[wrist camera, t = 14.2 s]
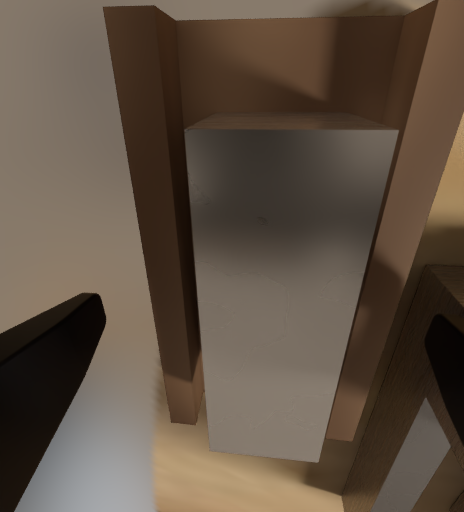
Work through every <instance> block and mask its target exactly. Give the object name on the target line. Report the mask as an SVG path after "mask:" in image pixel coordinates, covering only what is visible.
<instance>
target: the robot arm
mask: <svg viewBox="0 0 464 512" xmlns="http://www.w3.org/2000/svg"><path fill="white" fill-rule="evenodd" d="M105 324H106V315H105V311H104V307H103V304H102V300H101V297H100V296H99V294H97V293H81V294H79V295H77V296H75V297H73V298H71V299H69V300H67V301H65V302H63V303H61V304H59V305H57V306H55V307H53V308H51V309H49V310H47V311H45V312H43V313H41V314H39V315H37V316H35V317H33V318H31V319H29V320H27V321H25V322H23V323H21V324H19V325H17V326H15V327H13V328H11V329H9V330H7V331H5V332H3V333H1V334H0V512H14V511H15V509H16V507H17V505H18V503H19V501H20V499H21V497H22V495H23V493H24V492H25V490H26V488H27V486H28V484H29V482H30V480H31V478H32V476H33V475H34V473H35V471H36V469H37V467H38V465H39V463H40V461H41V459H42V457H43V456H44V453H45V452H46V450H47V448H48V446H49V444H50V442H51V440H52V438H53V437H54V435H55V433H56V431H57V429H58V427H59V425H60V423H61V421H62V419H63V417H64V416H65V413H66V412H67V409H68V408H69V406H70V404H71V402H72V400H73V398H74V396H75V395H76V393H77V391H78V389H79V387H80V385H81V383H82V381H83V379H84V377H85V375H86V372H87V370H88V368H89V365H90V363H91V360H92V358H93V355H94V353H95V350H96V348H97V345H98V343H99V340H100V338H101V335H102V333H103V330H104V328H105ZM424 345H425V349H426V352H427V355H428V358H429V361H430V364H431V367H432V370H433V373H434V376H435V379H436V382H437V385H438V388H439V391H440V394H441V397H442V399H443V402H444V405H445V407H446V409H447V412H448V414H449V416H450V419H451V421H452V423H453V425H454V427H455V430H456V432H457V434H458V436H459V438H460V440H461V443H462V445H463V447H464V318H462V317H460V316H458V315H456V314H447V313H438V314H436V315H435V316H434V317H433V319H432V321H431V324H430V326H429V329H428V331H427V333H426V336H425V340H424Z"/></svg>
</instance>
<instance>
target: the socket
mask: <svg viewBox="0 0 464 512" xmlns="http://www.w3.org/2000/svg"><path fill="white" fill-rule="evenodd" d="M438 313H447V314H456V315H458V316H460V317H462V318H464V267H460V266H440V265H426V267H425V269H424V272H423V275H422V278H421V280H420V283H419V286H418V289H417V291H416V294H415V297H414V300H413V302H412V305H411V308H410V311H409V313H408V316H407V319H406V322H405V324H404V327H403V330H402V333H401V335H400V338H399V341H398V344H397V346H396V349H395V352H394V355H393V357H392V360H391V363H390V366H389V368H388V371H387V374H386V377H385V379H384V382H383V385H382V388H381V390H380V393H379V396H378V399H377V401H376V404H375V407H374V410H373V412H372V415H371V418H370V421H369V423H368V426H367V429H366V431H365V434H364V437H363V440H362V442H361V445H360V448H359V451H358V453H357V456H356V459H355V462H354V464H353V467H352V470H351V473H350V475H349V478H348V481H347V484H346V486H345V489H344V492H343V495H342V502H343V508H344V512H411V510H412V508H413V507H414V505H415V504H416V502H417V500H418V499H419V497H420V496H421V494H422V492H423V491H424V489H425V487H426V486H427V484H428V483H429V481H430V479H431V478H432V476H433V475H434V473H435V471H436V470H437V468H438V467H439V465H440V463H441V462H442V460H443V459H444V457H445V455H446V454H447V452H448V451H449V449H450V447H451V448H452V450H453V452H454V454H455V456H456V457H457V459H458V461H459V463H460V465H461V467H462V469H463V471H464V447H463V445H462V443H461V440H460V438H459V436H458V434H457V432H456V430H455V427H454V425H453V423H452V421H451V419H450V416H449V414H448V412H447V409H446V407H445V405H444V402H443V399H442V397H441V394H440V391H439V388H438V385H437V382H436V379H435V376H434V373H433V370H432V367H431V364H430V361H429V358H428V355H427V352H426V349H425V345H424V340H425V336H426V333H427V331H428V329H429V326H430V324H431V321H432V319H433V317H434V316H435V315H436V314H438ZM449 511H450V512H464V491H463V493H462V494H461V495H460V497H459V498H458V499H457V501H456V502H455V503H454V505H453V506H452V507H451V509H450V510H449Z"/></svg>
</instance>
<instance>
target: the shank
mask: <svg viewBox="0 0 464 512" xmlns="http://www.w3.org/2000/svg"><path fill="white" fill-rule="evenodd" d="M184 131H185V144H186V157H187V169H188V182H189V195H190V207H191V220H192V233H193V245H194V258H195V271H196V283H197V296H198V309H199V321H200V334H201V346H202V359H203V372H204V384H205V397H206V410H207V422H208V435H209V448H210V451H215V452H224V453H233V454H242V455H252V456H261V457H270V458H279V459H289V460H298V461H307V462H317V463H318V462H319V458H320V454H321V450H322V445H323V441H324V437H325V433H326V429H327V425H328V421H329V417H330V412H331V408H332V404H333V400H334V396H335V392H336V388H337V384H338V380H339V375H340V371H341V367H342V363H343V359H344V355H345V351H346V347H347V342H348V338H349V334H350V330H351V326H352V322H353V318H354V314H355V309H356V305H357V301H358V297H359V293H360V289H361V285H362V281H363V277H364V272H365V268H366V264H367V260H368V256H369V252H370V248H371V244H372V239H373V235H374V231H375V227H376V223H377V219H378V215H379V211H380V207H381V202H382V198H383V194H384V190H385V186H386V182H387V178H388V174H389V169H390V165H391V161H392V157H393V153H394V149H395V145H396V141H397V136H398V132H399V130H397V129H394V128H391V127H389V126H386V125H383V124H380V123H377V122H374V121H371V120H368V119H365V118H362V117H359V116H356V115H353V114H350V113H347V112H217V113H215V114H213V115H211V116H209V117H207V118H205V119H203V120H201V121H199V122H197V123H195V124H193V125H191V126H190V127H188V128H186V129H184Z"/></svg>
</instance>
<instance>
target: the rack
mask: <svg viewBox="0 0 464 512" xmlns="http://www.w3.org/2000/svg"><path fill="white" fill-rule="evenodd" d="M103 11H104V17H105V23H106V29H107V35H108V41H109V47H110V53H111V60H112V66H113V71H114V78H115V84H116V90H117V96H118V101H119V108H120V114H121V120H122V126H123V133H124V139H125V145H126V151H127V156H128V163H129V169H130V175H131V181H132V187H133V193H134V199H135V205H136V212H137V217H138V224H139V230H140V236H141V242H142V248H143V254H144V260H145V266H146V272H147V278H148V284H149V291H150V296H151V302H152V309H153V314H154V321H155V327H156V332H157V339H158V345H159V351H160V357H161V364H162V370H163V376H164V382H165V388H166V394H167V400H168V406H169V412H170V418H171V423H180V424H190V425H196V422H197V418H198V413H199V408H200V404H201V399H202V394H203V392H205V384H204V372H203V359H202V346H201V334H200V321H199V309H198V296H197V283H196V271H195V258H194V245H193V233H192V220H191V207H190V195H189V182H188V169H187V157H186V144H185V131H184V129H186V128H188V127H190V126H191V125H193V124H195V123H197V122H199V121H201V120H203V119H205V118H207V117H209V116H211V115H213V114H215V113H217V112H347V113H350V114H353V115H356V116H359V117H362V118H365V119H368V120H371V121H374V122H377V123H380V124H383V125H386V126H389V127H391V128H394V129H397V130H399V132H398V136H397V141H396V145H395V149H394V153H393V157H392V161H391V165H390V169H389V174H388V178H387V182H386V186H385V190H384V194H383V198H382V202H381V207H380V211H379V215H378V219H377V223H376V227H375V231H374V235H373V239H372V244H371V248H370V252H369V256H368V260H367V264H366V268H365V272H364V277H363V281H362V285H361V289H360V293H359V297H358V301H357V305H356V309H355V314H354V318H353V322H352V326H351V330H350V334H349V338H348V342H347V347H346V351H345V355H344V359H343V363H342V367H341V371H340V375H339V380H338V384H337V388H336V392H335V396H334V400H333V404H332V408H331V412H330V417H329V421H328V425H327V429H326V433H325V439H334V440H343V441H353V438H354V435H355V432H356V429H357V426H358V423H359V420H360V417H361V414H362V411H363V408H364V405H365V402H366V399H367V396H368V393H369V390H370V388H371V385H372V382H373V379H374V376H375V373H376V370H377V367H378V364H379V361H380V358H381V355H382V352H383V349H384V346H385V343H386V340H387V337H388V334H389V331H390V328H391V325H392V322H393V319H394V316H395V313H396V310H397V307H398V305H399V302H400V299H401V296H402V293H403V290H404V287H405V284H406V281H407V278H408V275H409V272H410V269H411V266H412V263H413V260H414V257H415V254H416V251H417V248H418V245H419V242H420V239H421V236H422V233H423V230H424V227H425V224H426V221H427V219H428V216H429V213H430V210H431V207H432V204H433V201H434V198H435V195H436V192H437V189H438V186H439V183H440V180H441V177H442V174H443V171H444V168H445V165H446V162H447V159H448V156H449V153H450V150H451V147H452V144H453V141H454V138H455V135H456V133H457V130H458V127H459V124H460V121H461V118H462V115H463V112H464V0H434V1H432V2H430V3H428V4H426V5H424V6H423V7H421V8H419V9H417V10H415V11H413V12H411V13H409V14H407V15H405V16H365V17H319V18H279V19H278V18H275V19H228V20H187V21H185V20H182V21H176V20H174V19H173V18H171V17H170V16H169V15H167V14H166V13H164V12H163V11H161V10H160V9H158V8H157V7H156V6H154V5H153V6H117V7H103Z"/></svg>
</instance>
